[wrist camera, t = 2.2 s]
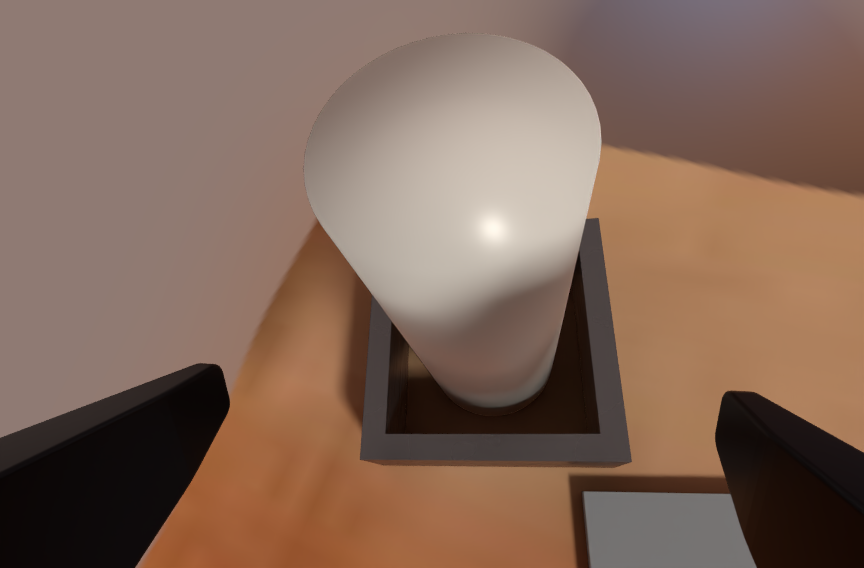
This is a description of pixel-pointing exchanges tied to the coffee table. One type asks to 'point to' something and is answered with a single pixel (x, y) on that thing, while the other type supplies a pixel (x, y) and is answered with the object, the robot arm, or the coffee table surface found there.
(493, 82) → the white plug
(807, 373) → the coffee table surface
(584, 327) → the grey square tray
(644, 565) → the slate mat
